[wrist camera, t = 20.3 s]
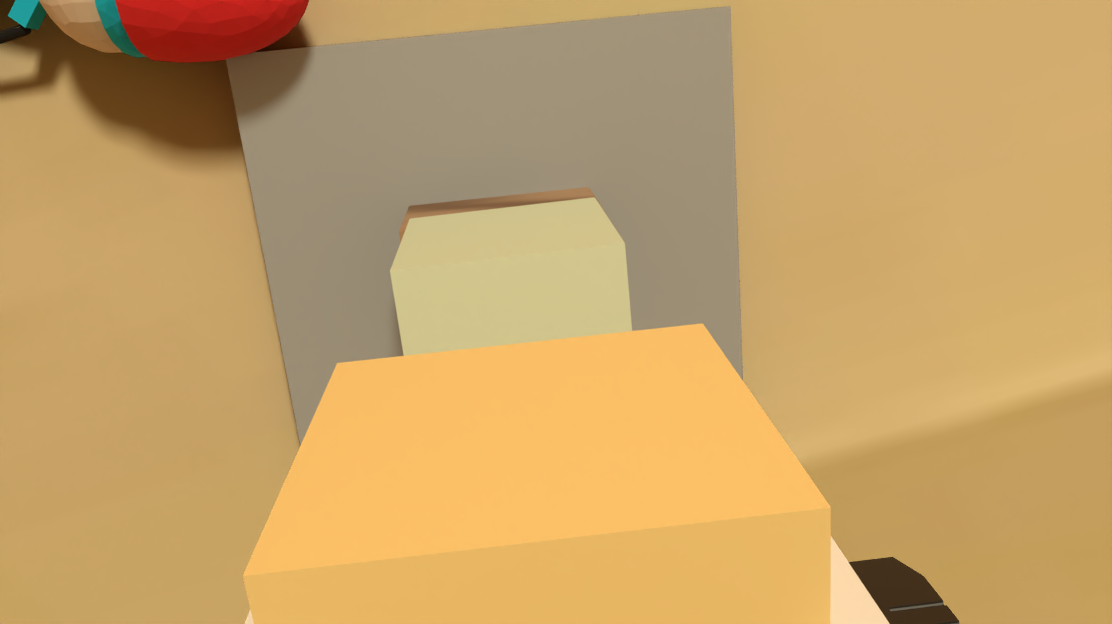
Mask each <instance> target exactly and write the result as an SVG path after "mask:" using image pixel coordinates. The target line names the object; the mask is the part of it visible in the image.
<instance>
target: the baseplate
mask: <svg viewBox="0 0 1112 624" xmlns="http://www.w3.org/2000/svg"><path fill="white" fill-rule="evenodd" d="M226 64H227V69H228V74H229V79H230V84H231V89H232V95H233V100H234V105H235V110H236V115H237V121H238V126H239V131H240V136H241V141H242V146H243V152H244V157H245V162H246V167H247V172H248V177H249V183H250V188H251V193H252V198H253V203H254V208H255V214H256V219H257V224H258V229H259V234H260V239H261V245H262V250H263V255H264V260H265V265H266V270H267V276H268V281H269V286H270V291H271V296H272V301H273V307H274V312H275V317H276V322H277V327H278V332H279V338H280V343H281V348H282V353H283V358H284V363H285V369H286V374H287V379H288V384H289V389H290V395H291V400H292V405H293V410H294V415H295V420H296V426H297V431H298V436H299V441H300V446H301V444H302V441H303V439H304V437H305V435H306V432H307V430H308V428H309V425H310V423H311V421H312V419H313V416H314V414H315V412H316V410H317V407H318V405H319V403H320V401H321V398H322V396H323V394H324V392H325V389H326V387H327V385H328V383H329V380H330V378H331V376H332V374H333V371H334V369H335V367H336V364H337V363H342V362H351V361H361V360H370V359H379V358H388V357H397V356H404V355H403V348H402V342H401V336H400V330H399V324H398V318H397V311H396V305H395V299H394V293H393V287H392V281H391V274H390V269H391V267H392V264H393V262H394V259H395V256H396V254H397V251H398V248H399V246H400V236H399V230H400V227H401V225H402V222H403V220H404V217H405V215H406V212H407V210H408V207H409V206H412V205H422V204H431V203H441V202H450V201H460V200H469V199H479V198H488V197H498V196H507V195H517V194H526V193H536V192H545V191H555V190H564V189H574V188H583V187H589V188H590V190H591V191H592V193H593V194H594V196H595V197H596V199H597V200H598V202H599V203H600V205H601V206H602V208H603V209H604V212H605V214H606V215H607V217H608V218H609V220H610V221H611V223H612V224H613V226H614V227H615V229H616V230H617V232H618V233H619V235H620V236H621V238H622V240H623V241H624V243H625V250H626V262H627V274H628V287H629V299H630V311H631V323H632V331H637V330H647V329H656V328H665V327H674V326H684V325H693V324H702V323H703V324H704V326H705V327H706V329H707V330H708V332H709V333H710V334H711V336H712V337H713V339H714V340H715V342H716V343H717V345H718V346H719V347H720V349H721V350H722V352H723V353H724V355H725V356H726V358H727V359H728V360H729V362H730V363H731V365H732V366H733V368H734V369H735V370H736V372H737V373H738V375H739V376H740V378H741V379H742V381H743V368H742V339H741V309H740V279H739V249H738V219H737V189H736V159H735V129H734V99H733V69H732V39H731V9H730V6H728V7H717V8H706V9H696V10H686V11H675V12H665V13H655V14H644V15H634V16H624V17H613V18H603V19H593V20H583V21H572V22H562V23H552V24H541V25H531V26H521V27H510V28H500V29H490V30H479V31H469V32H459V33H448V34H438V35H428V36H418V37H407V38H397V39H387V40H376V41H366V42H356V43H345V44H335V45H325V46H314V47H304V48H294V49H284V50H273V51H263V52H253V53H250V54H247V55H242V56H238V57H233V58H229V59H226Z"/></svg>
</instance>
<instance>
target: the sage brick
mask: <svg viewBox="0 0 1112 624" xmlns="http://www.w3.org/2000/svg"><path fill="white" fill-rule="evenodd" d="M390 274H391V281H392V287H393V293H394V299H395V305H396V311H397V318H398V324H399V330H400V336H401V342H402V348H403V355H404V356H407V355H416V354H425V353H434V352H444V351H453V350H462V349H471V348H481V347H490V346H499V345H508V344H517V343H527V342H536V341H545V340H554V339H564V338H573V337H582V336H591V335H600V334H610V333H619V332H628V331H632V323H631V311H630V299H629V287H628V274H627V262H626V250H625V243H624V241H623V240H622V238H621V236H620V235H619V233H618V232H617V230H616V229H615V227H614V226H613V224H612V223H611V221H610V220H609V218H608V217H607V215H606V214H605V212H604V211H603V209H602V208H601V206H600V205H599V203H598V202H597V200H596V199H595V197H592V198H584V199H575V200H566V201H558V202H549V203H541V204H532V205H523V206H515V207H506V208H497V209H489V210H480V211H471V212H463V213H454V214H446V215H437V216H428V217H420V218H411V219H409V222H408V224H407V227H406V230H405V232H404V235H403V238H402V240H401V243H400V246H399V248H398V251H397V254H396V256H395V259H394V262H393V264H392V267H391V269H390Z"/></svg>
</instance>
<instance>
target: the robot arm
mask: <svg viewBox="0 0 1112 624" xmlns="http://www.w3.org/2000/svg"><path fill="white" fill-rule="evenodd" d="M245 624H254V623H253V618H252V614H251V610H250V612H249V614H248V617H247V619H246V622H245ZM830 624H959V620H958V619H957V618H956V616H955V615H954V614H953V613H952V611H951V610H950V609H949V608H948V606H947V605H946V606H944V604H943V600H942V599H941V598H940V596H939V595H938V594H937V592H936V591H935V590H934V589H933V587H932V586H931V585H930V584H929V582H928V581H927V580H926V579H925V577H924V576H922V575H921V574H919V573H918V572H916V571H914V570H913V569H911V568H910V567H908V566H906V565H905V564H903V563H902V562H900V561H898V560H897V559H895V558H893V557H888V558H880V559H872V560H863V561H855V562H848V561H847V560H846V558H845V557H844V555H843V554H842V552H841V551H840V549H839V548H838V546H837V545H836V543H835V542H834V540H833V539H832V537H831V606H830Z"/></svg>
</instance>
